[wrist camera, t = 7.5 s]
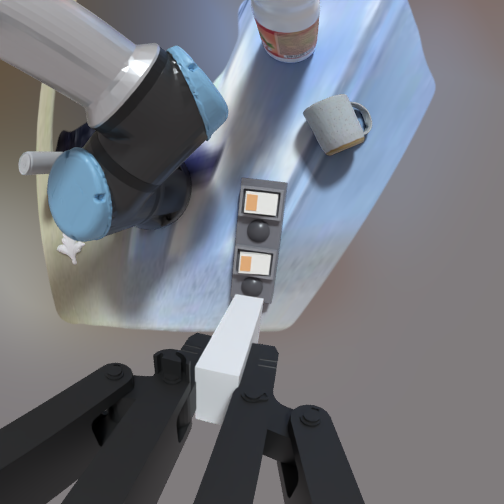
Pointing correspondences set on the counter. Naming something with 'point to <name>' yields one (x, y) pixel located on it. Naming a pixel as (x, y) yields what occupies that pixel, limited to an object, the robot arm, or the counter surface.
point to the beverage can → (37, 162)
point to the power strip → (258, 239)
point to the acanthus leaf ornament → (70, 247)
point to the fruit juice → (287, 27)
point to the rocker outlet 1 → (261, 203)
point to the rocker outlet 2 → (254, 263)
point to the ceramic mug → (337, 123)
